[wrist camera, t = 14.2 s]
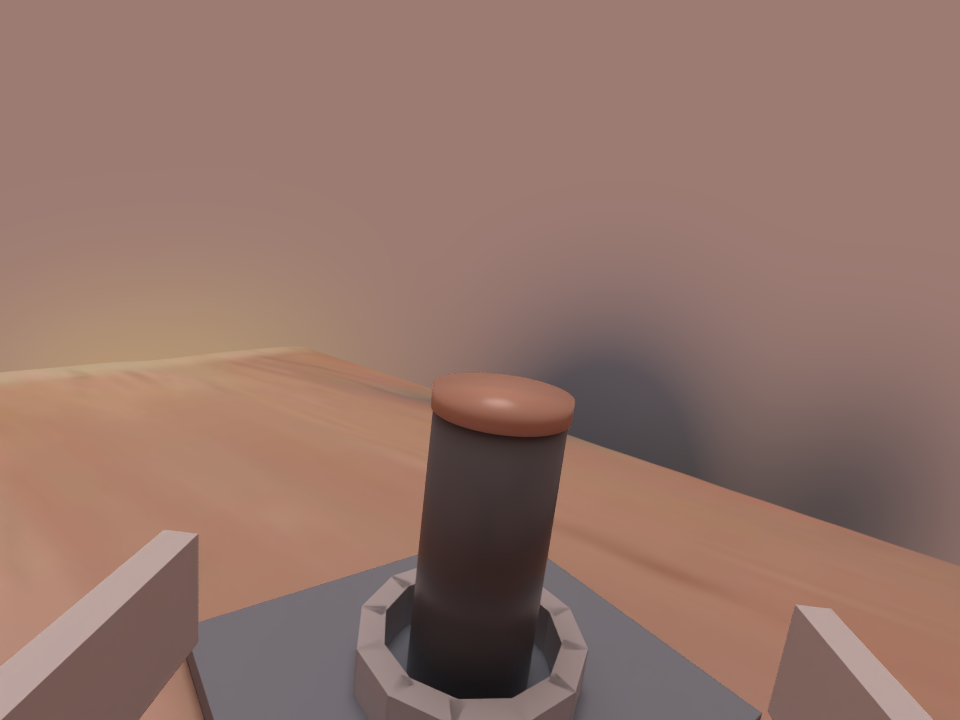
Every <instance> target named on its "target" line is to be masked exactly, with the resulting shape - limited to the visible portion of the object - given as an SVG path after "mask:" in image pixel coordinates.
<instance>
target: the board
mask: <svg viewBox="0 0 960 720" xmlns="http://www.w3.org/2000/svg"><path fill="white" fill-rule="evenodd" d="M417 561H418V555H415V556H412V557H409V558H406V559H402V560H399V561H396V562H393V563H389V564H386V565H383V566H380V567H376V568H373V569H370V570H367V571H364V572H360V573H357V574H354V575H351V576H347V577H344V578H341V579H338V580H334V581H331V582H328V583H325V584H321V585H318V586H315V587H312V588H308V589H305V590H302V591H299V592H295V593H292V594H289V595H286V596H282V597H279V598H276V599H273V600H269V601H266V602H263V603H260V604H256V605H253V606H250V607H247V608H243V609H240V610H237V611H234V612H231V613H227V614H224V615H221V616H218V617H214V618H211V619H208V620H205V621H201V622H198V643H197V645H196V646H195V647H194V648H193V650H192V651H191V652H190V654H189V655H188V656H187V662H188V665H189V668H190V672H191V675H192V678H193V682H194V685H195V688H196V692H197V695H198V698H199V702H200V705H201V708H202V712H203V715H204V719H205V720H760V719H761V715H762V713H761V712H759V711H758V710H757V709H755V708H754V707H753V706H751V705H750V704H748V703H747V702H746V701H744V700H743V699H742V698H740V697H739V696H737V695H736V694H735V693H733V692H732V691H730V690H729V689H728V688H726V687H725V686H724V685H722V684H721V683H719V682H718V681H717V680H715V679H714V678H713V677H711V676H710V675H708V674H707V673H706V672H704V671H703V670H702V669H700V668H699V667H697V666H696V665H695V664H693V663H692V662H690V661H689V660H688V659H686V658H685V657H684V656H682V655H681V654H679V653H678V652H677V651H675V650H674V649H673V648H671V647H670V646H668V645H667V644H666V643H664V642H663V641H661V640H660V639H659V638H657V637H656V636H655V635H653V634H652V633H650V632H649V631H648V630H646V629H645V628H644V627H642V626H641V625H639V624H638V623H637V622H635V621H634V620H633V619H631V618H630V617H628V616H627V615H626V614H624V613H623V612H621V611H620V610H619V609H617V608H616V607H615V606H613V605H612V604H610V603H609V602H608V601H606V600H605V599H604V598H602V597H601V596H599V595H598V594H597V593H595V592H594V591H592V590H591V589H590V588H588V587H587V586H586V585H584V584H583V583H581V582H580V581H579V580H577V579H576V578H575V577H573V576H572V575H570V574H569V573H568V572H566V571H565V570H563V569H562V568H561V567H559V566H558V565H557V564H555V563H554V562H552V561H551V560H550V559H548V558H547V564H546V570H545V576H544V582H543V589H542V595H541V601H540V608H539V614H538V620H537V627H536V633H535V639H534V646H533V652H532V658H531V664H530V671H529V677H528V683H527V689H526V690H525V691H524V692H522V693H520V694H519V695H517V696H515V697H513V698H499V699H457V698H454V697H452V696H450V695H447V694H445V693H443V692H441V691H438V690H436V689H434V688H432V687H429V686H427V685H425V684H423V683H420V682H418V681H416V680H414V679H411V678H410V677H409V676H408V675H407V672H406V669H407V658H408V648H409V639H410V629H411V619H412V609H413V600H414V590H415V580H416V571H417Z"/></svg>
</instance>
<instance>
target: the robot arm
mask: <svg viewBox="0 0 960 720" xmlns="http://www.w3.org/2000/svg"><path fill="white" fill-rule="evenodd" d="M197 643H198V534H196V533H187V532H179V531H170V530H163V531H162V532H161V533H160V534H158V535H157V536H156V537H155V538H154V539H152V540H151V541H150V542H149V543H148V544H146V545H145V546H144V547H143V548H142V549H140V550H139V551H138V552H137V553H136V554H134V555H133V556H132V557H131V558H130V559H128V560H127V561H126V562H125V563H124V564H122V565H121V566H120V567H119V568H118V569H116V570H115V571H114V572H113V573H112V574H110V575H109V576H108V577H107V578H106V579H104V580H103V581H102V582H101V583H100V584H98V585H97V586H96V587H95V588H94V589H92V590H91V591H90V592H89V593H88V594H87V595H85V596H84V597H83V598H82V599H81V600H79V601H78V602H77V603H76V604H75V605H73V606H72V607H71V608H70V609H69V610H67V611H66V612H65V613H64V614H63V615H61V616H60V617H59V618H58V619H57V620H55V621H54V622H53V623H52V624H51V625H49V626H48V627H47V628H46V629H45V630H43V631H42V632H41V633H40V634H39V635H37V636H36V637H35V638H34V639H33V640H31V641H30V642H29V643H28V644H27V645H25V646H24V647H23V648H22V649H21V650H19V651H18V652H17V653H16V654H15V655H13V656H12V657H11V658H10V659H9V660H8V661H6V662H5V663H4V664H3V665H2V666H0V720H139V719H140V718H141V716H142V715H143V714H144V712H145V711H146V710H147V708H148V707H149V706H150V705H151V703H152V702H153V701H154V699H155V698H156V697H157V695H158V694H159V693H160V691H161V690H162V689H163V688H164V686H165V685H166V684H167V682H168V681H169V680H170V678H171V677H172V676H173V675H174V673H175V672H176V671H177V669H178V668H179V667H180V665H181V664H182V663H183V662H184V660H185V659H186V658H187V656H188V655H189V654H190V652H191V651H192V650H193V648H194V647H195V646H196V645H197ZM768 713H769V714H770V716H771V718H772V719H773V720H933V719H932V718H931V717H930V716H929V715H928V714H927V713H926V711H925V710H924V709H923V708H922V707H921V706H920V705H919V704H918V703H917V702H916V701H915V700H914V698H913V697H912V696H911V695H910V694H909V693H908V692H907V691H906V690H905V689H904V688H903V687H902V685H901V684H900V683H899V682H898V681H897V680H896V679H895V678H894V677H893V676H892V675H891V674H890V672H889V671H888V670H887V669H886V668H885V667H884V666H883V665H882V664H881V663H880V662H879V661H878V659H877V658H876V657H875V656H874V655H873V654H872V653H871V652H870V651H869V650H868V649H867V648H866V646H865V645H864V644H863V643H862V642H861V641H860V640H859V639H858V638H857V637H856V636H855V634H854V633H853V632H852V631H851V630H850V629H849V628H848V627H847V626H846V625H845V624H844V623H843V621H842V620H841V619H840V618H839V617H838V616H837V615H836V614H835V613H834V612H833V611H832V610H831V609H829V608H820V607H812V606H803V605H795V608H794V612H793V616H792V619H791V623H790V627H789V631H788V635H787V639H786V643H785V646H784V650H783V654H782V658H781V662H780V666H779V669H778V673H777V677H776V681H775V685H774V689H773V693H772V696H771V700H770V704H769V708H768Z"/></svg>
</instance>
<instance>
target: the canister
mask: <svg viewBox="0 0 960 720" xmlns="http://www.w3.org/2000/svg"><path fill="white" fill-rule="evenodd" d="M574 405H575V400H574V398H573V397H572V396H571V395H570V394H569V393H567V392H566V391H564V390H562V389H560V388H558V387H555V386H552V385H549V384H547V383H544V382H540V381H536V380H533V379H527V378H523V377H518V376H512V375H505V374H496V373H480V372H468V373H454V374H448V375H444V376H441V377H439V378H437V379H436V380H434V382H433V388H432V398H431V408H432V410H433V415H432V425H431V435H430V444H429V454H428V464H427V473H426V483H425V493H424V503H423V512H422V522H421V532H420V541H419V551H418V561H417V571H416V580H415V590H414V600H413V609H412V619H411V629H410V639H409V648H408V658H407V669H406V672H407V675H408V676H409V677H410V678H411V679H414V680H416V681H418V682H420V683H423V684H425V685H427V686H429V687H432V688H434V689H436V690H438V691H441V692H443V693H445V694H447V695H450V696H452V697H454V698H457V699H499V698H513V697H515V696H517V695H519V694H520V693H522V692H524V691H525V690H526V689H527V683H528V677H529V671H530V664H531V658H532V652H533V646H534V639H535V633H536V627H537V620H538V614H539V608H540V601H541V595H542V589H543V582H544V576H545V570H546V564H547V557H548V551H549V545H550V538H551V532H552V526H553V519H554V513H555V507H556V500H557V494H558V488H559V482H560V475H561V469H562V463H563V456H564V450H565V444H566V437H567V431H568V428H569V427H570V426H571V423H572V417H573V411H574Z"/></svg>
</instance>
